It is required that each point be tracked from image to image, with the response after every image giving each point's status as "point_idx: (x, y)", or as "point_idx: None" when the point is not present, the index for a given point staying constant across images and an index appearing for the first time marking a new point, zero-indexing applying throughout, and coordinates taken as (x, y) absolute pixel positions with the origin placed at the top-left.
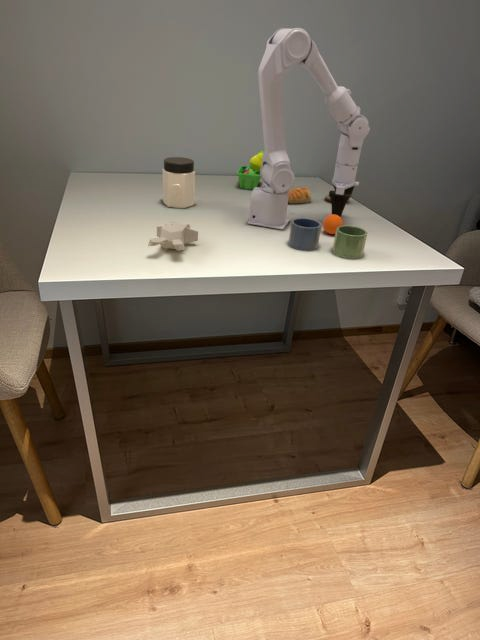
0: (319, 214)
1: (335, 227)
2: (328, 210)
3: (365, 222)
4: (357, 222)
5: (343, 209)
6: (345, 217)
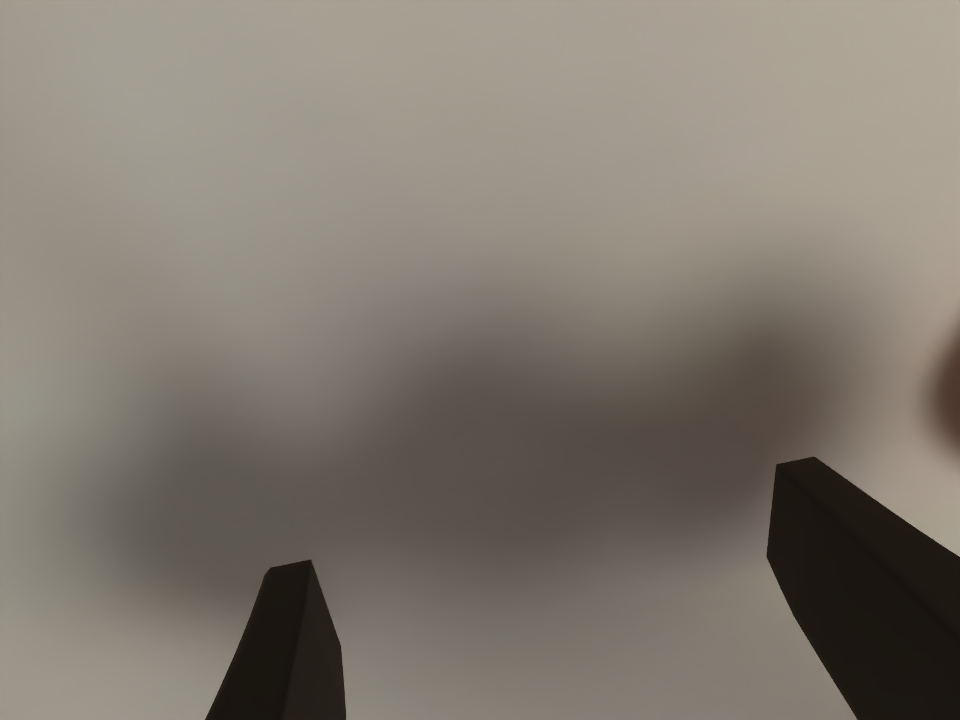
0: None
1: None
2: (48, 698)
3: (145, 44)
4: (287, 193)
5: (942, 571)
6: (169, 438)
